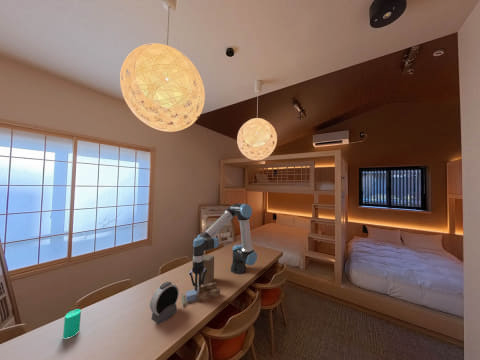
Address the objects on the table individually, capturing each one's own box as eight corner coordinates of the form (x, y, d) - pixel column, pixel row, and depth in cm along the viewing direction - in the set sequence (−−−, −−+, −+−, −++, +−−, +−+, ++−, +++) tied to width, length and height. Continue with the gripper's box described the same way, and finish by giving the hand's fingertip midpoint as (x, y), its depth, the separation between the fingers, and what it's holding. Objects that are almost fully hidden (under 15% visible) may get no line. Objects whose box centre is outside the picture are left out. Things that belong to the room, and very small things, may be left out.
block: (195, 294, 116) (195, 288, 116) (197, 299, 110) (197, 293, 111) (185, 297, 113) (185, 291, 113) (186, 302, 107) (187, 296, 108)
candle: (70, 329, 87) (72, 306, 87) (82, 329, 87) (84, 305, 88) (59, 340, 81) (61, 314, 81) (72, 339, 81) (74, 314, 82)
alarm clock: (156, 327, 88) (158, 293, 90) (146, 319, 94) (148, 287, 95) (181, 309, 102) (182, 279, 103) (171, 303, 107) (172, 275, 109)
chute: (215, 288, 125) (215, 281, 125) (219, 296, 115) (220, 289, 115) (181, 297, 114) (181, 290, 114) (183, 307, 104) (183, 299, 104)
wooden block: (209, 286, 127) (210, 260, 129) (198, 284, 129) (198, 259, 131) (214, 279, 137) (214, 255, 139) (203, 278, 139) (203, 254, 141)
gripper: (205, 256, 121) (205, 289, 120) (188, 260, 116) (187, 294, 114) (208, 260, 115) (208, 295, 113) (189, 264, 109) (189, 300, 107)
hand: (197, 294), depth 113 cm, fingers closed
